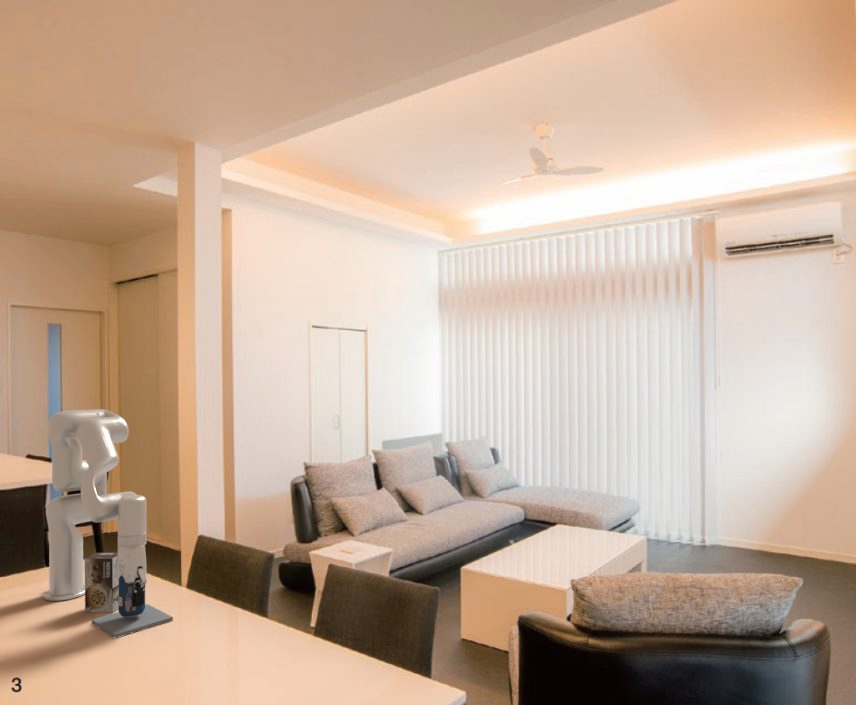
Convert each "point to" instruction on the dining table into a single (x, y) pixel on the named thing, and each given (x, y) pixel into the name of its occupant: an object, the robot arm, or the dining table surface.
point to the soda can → (128, 599)
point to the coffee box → (101, 583)
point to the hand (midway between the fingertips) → (132, 602)
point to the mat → (131, 621)
